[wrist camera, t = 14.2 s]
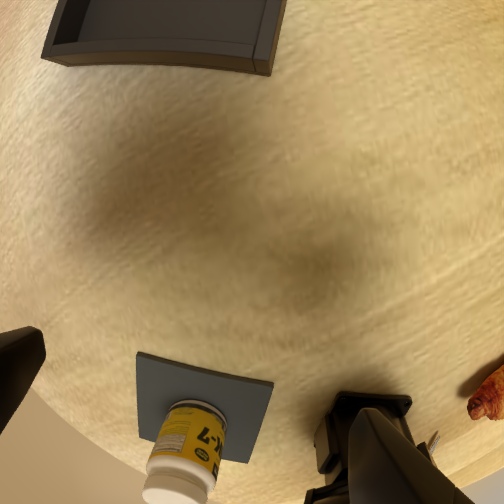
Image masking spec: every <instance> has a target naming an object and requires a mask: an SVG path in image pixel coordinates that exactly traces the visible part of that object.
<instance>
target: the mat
mask: <svg viewBox="0 0 504 504" xmlns="http://www.w3.org/2000/svg"><path fill="white" fill-rule="evenodd" d="M136 384H137V410H138V427H139V438H142V439H145V440H149V441H152V442H156V440H157V438H158V435H159V433H160V430H161V428H162V425H163V423H164V421H165V418H166V416H167V414H168V411H169V409H170V408H171V407H172V406H173V405H174V404H175V403H178V402H180V401H184V400H197V401H201V402H205V403H207V404H209V405H211V406H213V407H215V408H216V409H217V410H218V411H219V412H220V413H221V414H222V415H223V416H224V418H225V420H226V423H227V430H226V435H225V440H224V445H223V450H222V456H221V459H224V460H229V461H235V462H241V463H247V464H248V462H249V459H250V456H251V453H252V451H253V448H254V445H255V442H256V439H257V436H258V433H259V430H260V427H261V424H262V421H263V418H264V415H265V412H266V409H267V406H268V403H269V400H270V397H271V394H272V391H273V388H274V383H270V382H264V381H258V380H253V379H248V378H243V377H238V376H233V375H228V374H223V373H219V372H214V371H210V370H205V369H201V368H197V367H193V366H189V365H185V364H181V363H177V362H173V361H169V360H166V359H162V358H158V357H155V356H151V355H148V354H144V353H141V352H138V353H137V355H136Z"/></svg>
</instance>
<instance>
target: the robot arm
mask: <svg viewBox="0 0 504 504" xmlns="http://www.w3.org/2000/svg"><path fill="white" fill-rule="evenodd" d="M45 358H46V350H45V344H44V338H43V333H42V331H41V330H39V329H37V328H35V327H32V326H27V327H23V328H20V329H16V330H12V331H8V332H4V333H0V434H1V433H2V431H3V430H4V428H5V426H6V425H7V423H8V422H9V420H10V419H11V417H12V415H13V414H14V412H15V411H16V410H17V408H18V407H19V405H20V404H21V402H22V400H23V399H24V397H25V395H26V394H27V392H28V390H29V388H30V386H31V384H32V383H33V381H34V379H35V377H36V375H37V373H38V372H39V370H40V368H41V366H42V364H43V363H44V361H45ZM341 398H344V399H341ZM406 402H407V403H406ZM411 405H412V399H411V398H410V397H408V396H389V395H375V394H363V393H352V392H340V393H339V394H337V396H336V398H335V400H334V402H333V404H332V406H331V408H330V410H329V412H328V413H327V414H326V415H324V417H323V419H322V421H321V423H320V425H319V427H318V429H317V431H316V433H315V440H314V447H315V448H316V456H317V468H318V472H319V473H320V474H325V484H326V486H323V487H320V488H317V489H315V488H313V489H310V490H307V493H306V497H305V501H304V504H475V503H473V502H472V501H471V500H470V499H469V498H468V497H467V496H466V495H464V493H462V491H460V489H458V488H457V487H455V485H454V484H453V483H452V482H451V481H450V480H449V479H448V478H447V477H446V476H445V475H444V474H443V473H442V472H441V471H440V470H439V469H438V468H437V466H436V464H435V462H434V460H433V457H432V455H431V453H430V451H429V449H428V447H427V445H426V443H425V441H424V442H422V443H420V444H418V445H417V447H416V446H415V443H414V440H413V438H412V435H411V433H410V430H409V427H408V425H407V422H406V420H405V417H404V416H405V415H406V413H407V412H408V410H409V408H410V407H411Z"/></svg>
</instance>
